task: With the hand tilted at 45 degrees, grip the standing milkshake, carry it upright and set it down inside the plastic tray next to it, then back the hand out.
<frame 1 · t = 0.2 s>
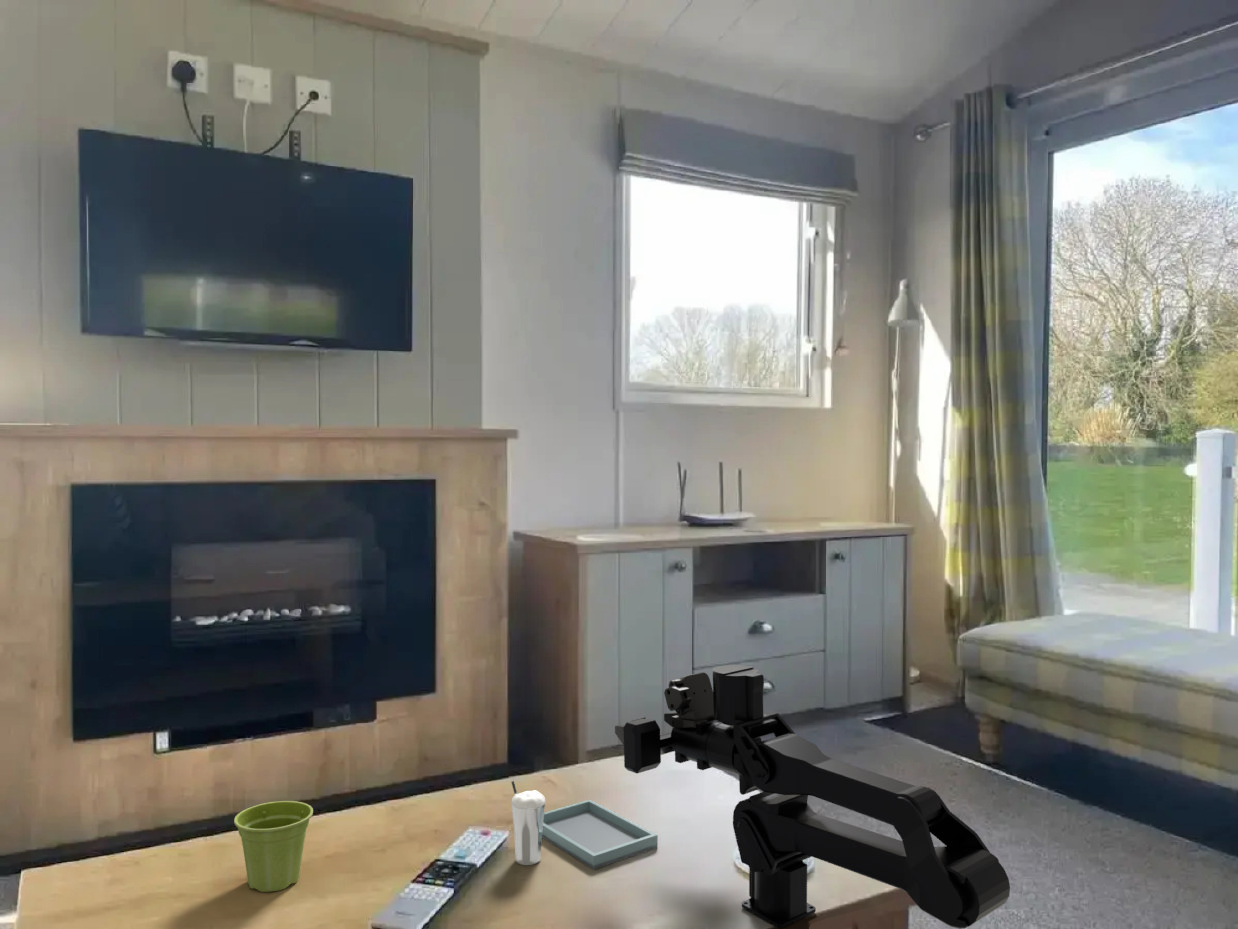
hand: (640, 723, 130), 17 cm above the table, tool horizontal, fingers open, 9 cm apart
tray: (591, 838, 131), on the table
plant pot: (274, 883, 117), on the table
milkshake: (525, 860, 124), on the table
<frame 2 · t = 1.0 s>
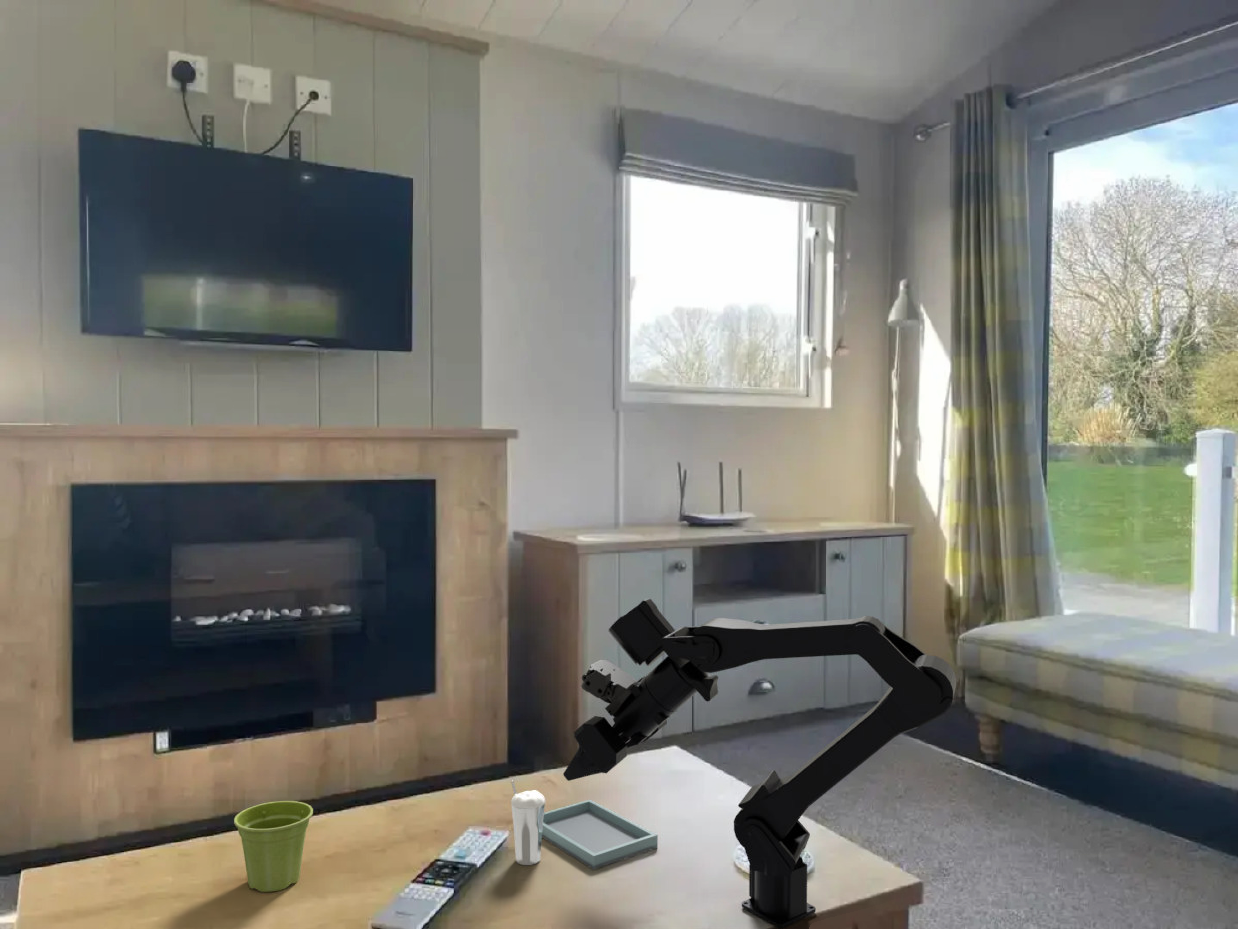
hand: (581, 766, 121), 14 cm above the table, tool tilted 45°, fingers open, 9 cm apart
nothing on the table moved.
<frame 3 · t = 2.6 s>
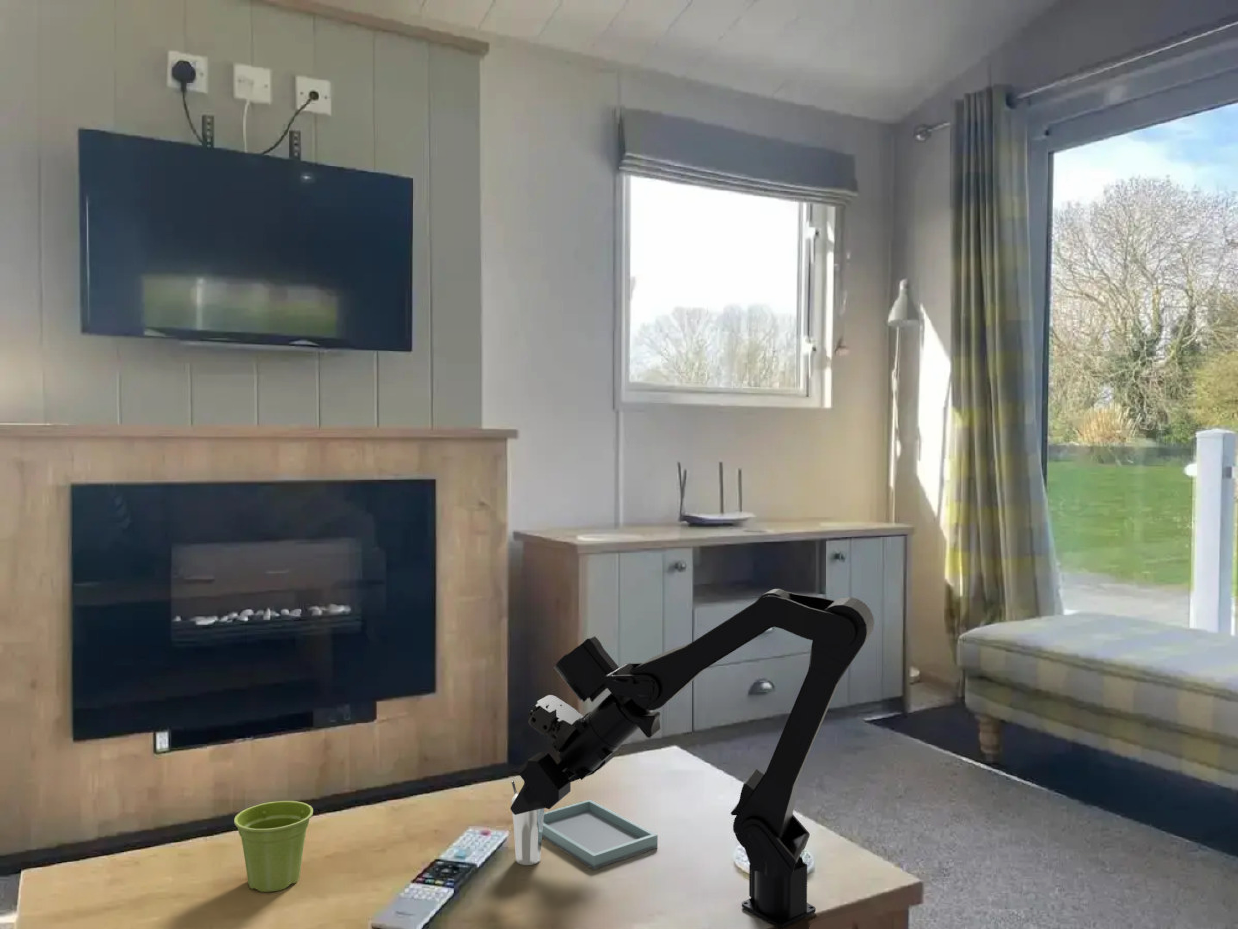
hand: (529, 799, 124), 8 cm above the table, tool tilted 45°, fingers open, 9 cm apart
nothing on the table moved.
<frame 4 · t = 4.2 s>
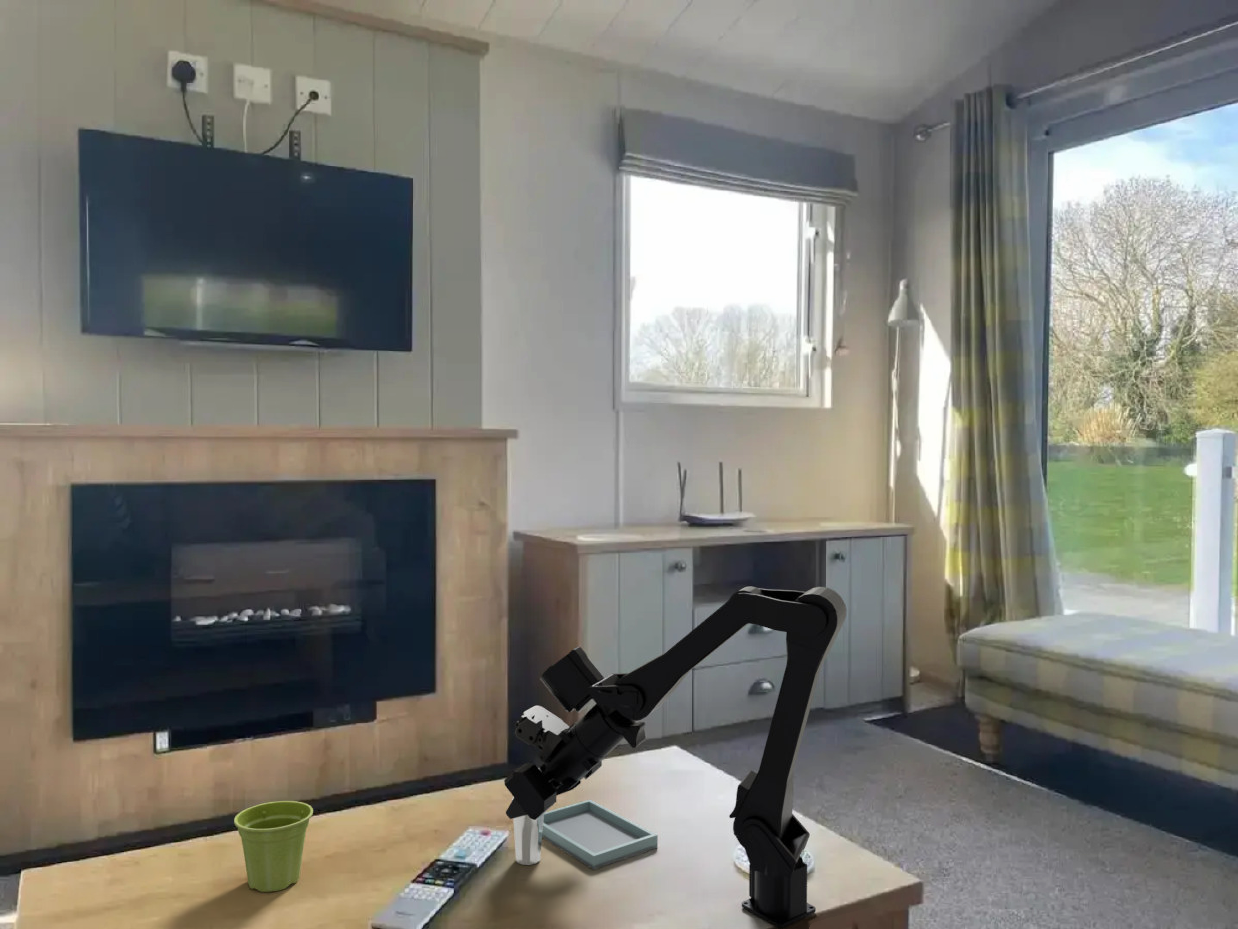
hand: (516, 809, 124), 7 cm above the table, tool tilted 45°, fingers closed on milkshake, 4 cm apart
milkshake: (525, 860, 124), on the table, touching gripper
everything else where it was.
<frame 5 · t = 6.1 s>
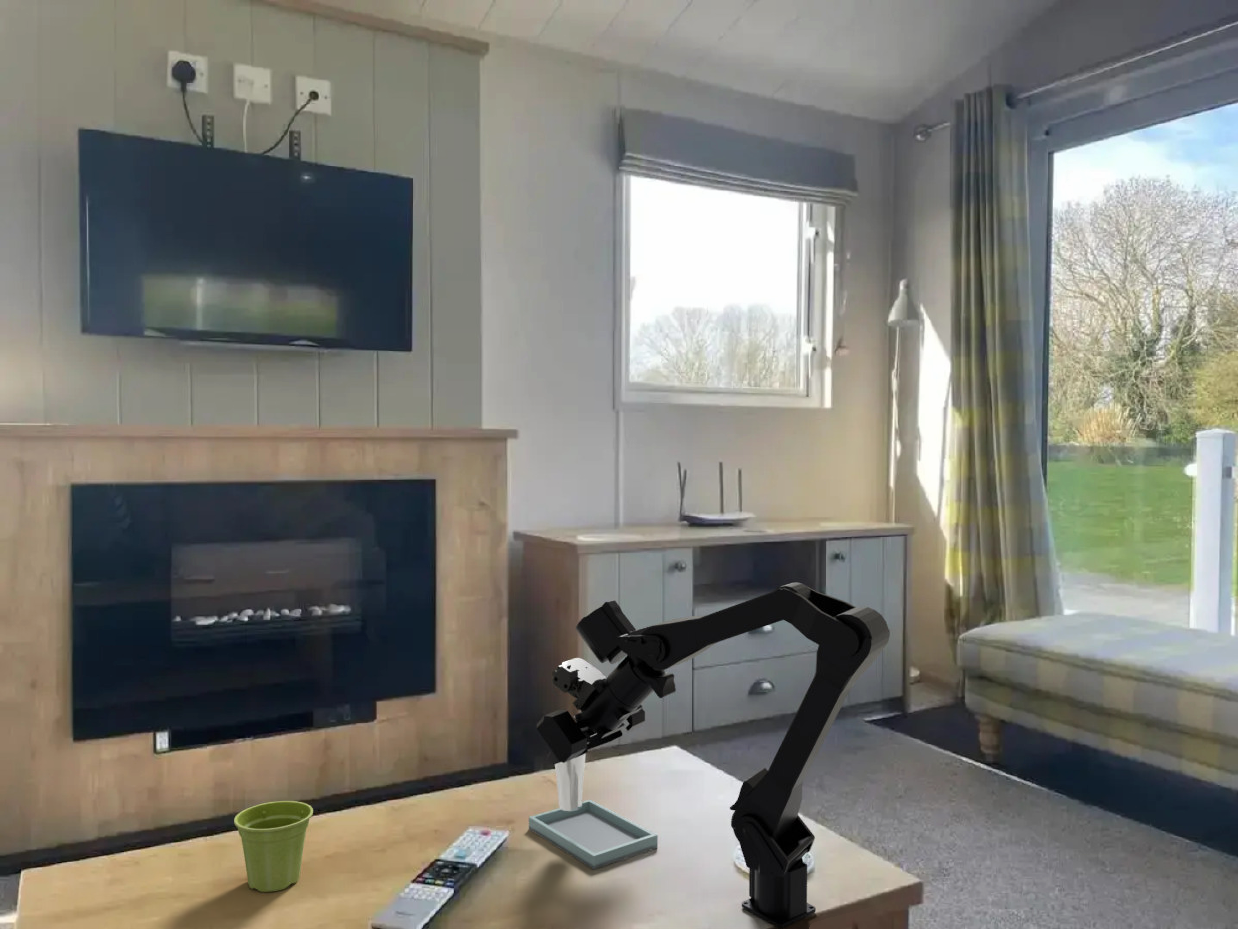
hand: (559, 757, 129), 12 cm above the table, tool tilted 45°, fingers closed on milkshake, 4 cm apart
milkshake: (568, 807, 128), point 5 cm above the table, touching gripper
everything else where it was.
when the fingers open (8 cm above the table, at t = 7.8 s): milkshake drops 1 cm, resting on tray.
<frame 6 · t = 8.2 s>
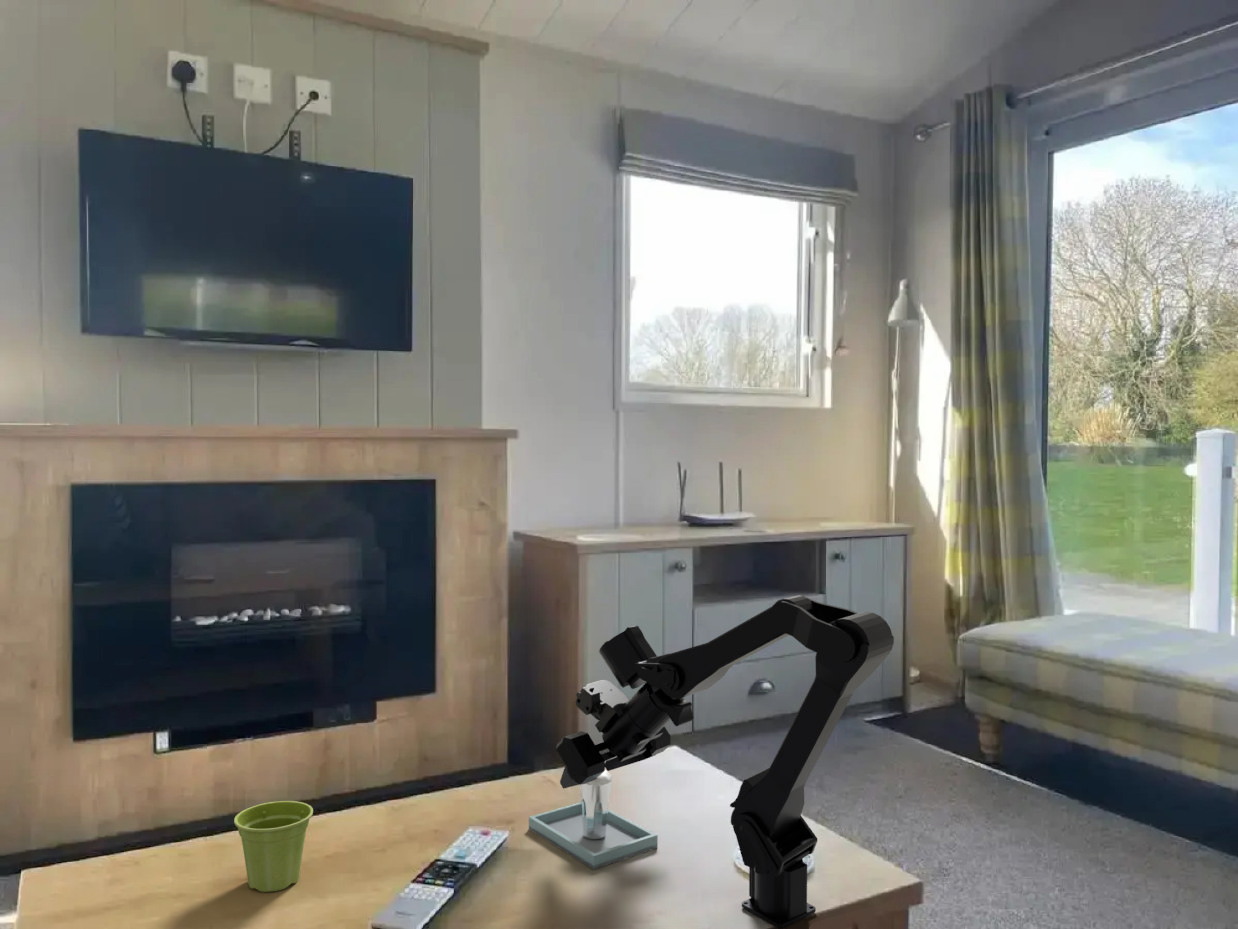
hand: (584, 776, 131), 9 cm above the table, tool tilted 45°, fingers open, 9 cm apart
milkshake: (592, 835, 131), resting on tray
everything else where it was.
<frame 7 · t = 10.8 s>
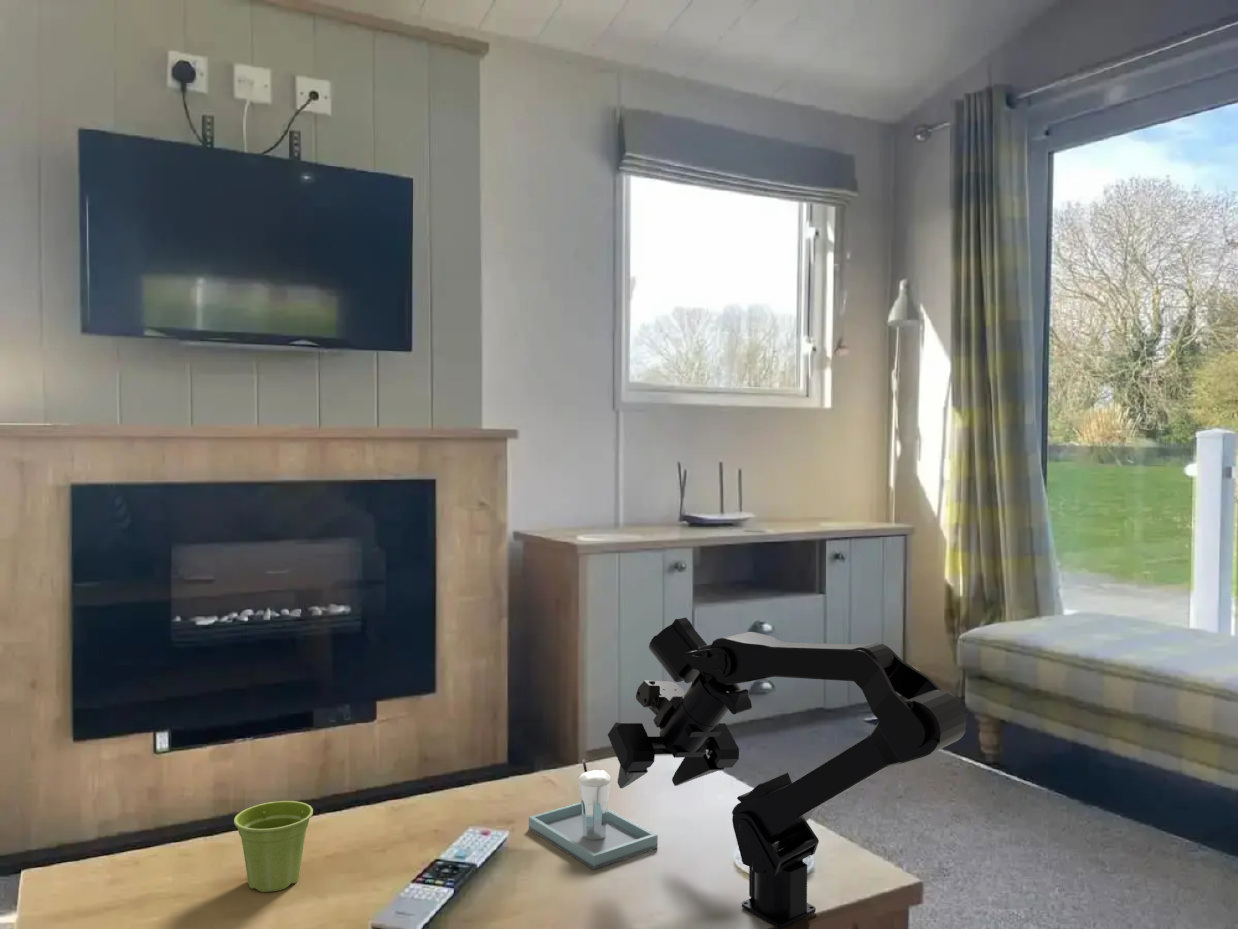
hand: (647, 784, 126), 10 cm above the table, tool tilted 40°, fingers open, 9 cm apart
nothing on the table moved.
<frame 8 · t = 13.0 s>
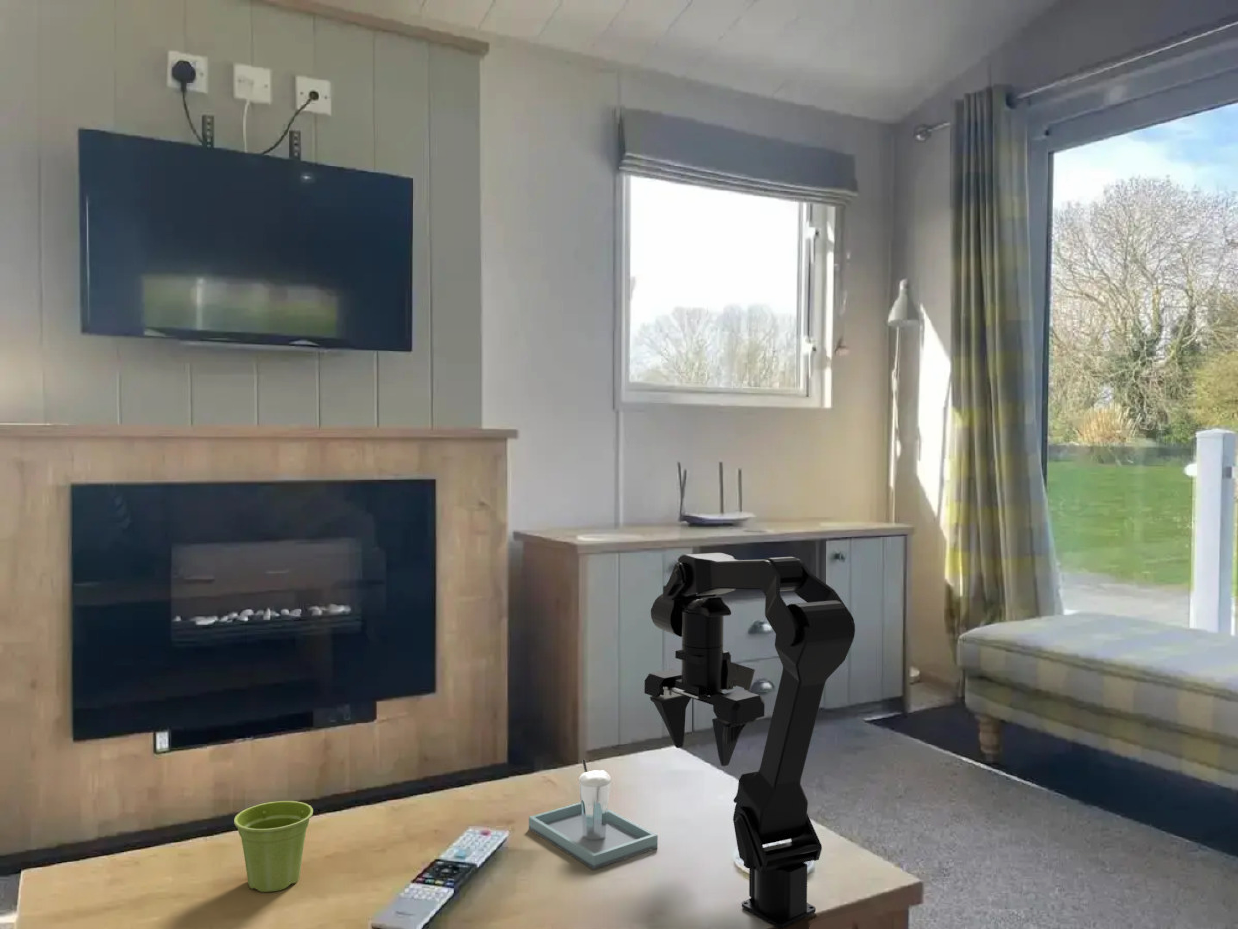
hand: (701, 756, 127), 13 cm above the table, tool pointing down, fingers open, 9 cm apart
nothing on the table moved.
at the end: milkshake 0.2 cm off-centre on the tray, point 0.3 cm above the tray's base; milkshake tilted 0°; the gripper is holding nothing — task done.
